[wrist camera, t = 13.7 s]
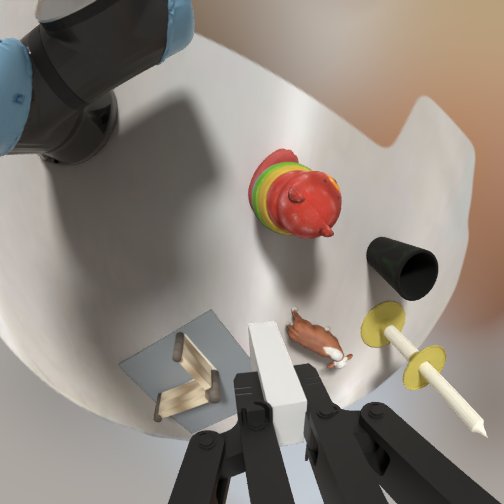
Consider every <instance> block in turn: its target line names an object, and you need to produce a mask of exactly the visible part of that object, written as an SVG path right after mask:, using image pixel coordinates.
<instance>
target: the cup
mask: <svg viewBox="0 0 504 504" xmlns="http://www.w3.org/2000/svg"><path fill="white" fill-rule="evenodd" d="M366 256H367V260H368V263H369V264H370V265H371V266H372V267H373V268H374V269H375V270H376V271H377V272H378V273H379V274H380V275H381V276H382V277H383V278H384V279H385V280H386V281H387V282H388V283H389V284H390V285H391V286H392V287H393V288H394V289H395V290H396V291H397V292H398V293H399V294H400V296H401V297H403V298H404V299H405V300H409V301H415V300H419V299H421V298H422V297H424V296H425V295H426V294H428V293H429V291H430V290H431V289H432V288H433V286H434V284H435V282H436V279H437V276H438V262H437V259H436V257H435V255H434V254H433V253H432V252H430V251H428V250H425V249H422V248H419V247H415V246H412V245H409V244H406V243H402V242H399V241H396V240H392V239H389V238H386V237H378V238H376V239H374V240H373V241H372V242H371V243H370V245H369V247H368V249H367V254H366Z"/></svg>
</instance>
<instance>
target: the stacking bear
mask: <svg viewBox="0 0 504 504" xmlns="http://www.w3.org/2000/svg"><path fill="white" fill-rule="evenodd" d="M248 196H249V202H250V205H251V207H252V209H253V210H254V212H255V214H256V216H257V217H258V219H259V220H260V221H261V223H262V224H263V225H265V226H266V227H267V228H268V229H270V230H272V231H274V232H276V233H279V234H283V235H294V236H296V237H299V238H304V239H312V238H316V237H319V236H324V237H331V236H333V235H334V233H333V231H332V230H331V228H332V227H333V225H334V224H335V223H336V221H337V219H338V217H339V214H340V211H341V203H342V202H341V193H340V189H339V187H338V184H337V182H336V180H334V179H333V178H332V177H331V176H329V175H328V174H325V173H322V172H319V171H312V170H311V169H309V168H308V167H306V166H304V165H301V164H299V163H298V158H297V156H296V155H294V154H293V152H292V151H291V150H285V149H279V150H277V151H275V152H273V153H272V154H270V155H269V156H268V157H267V158H266V159H265V160H264V161H263V162H262V163H261V164H260V165H259V167H258V168H257V170H256V171H255V173H254V175H253V177H252V179H251V182H250V185H249V191H248Z"/></svg>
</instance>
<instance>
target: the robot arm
mask: <svg viewBox="0 0 504 504" xmlns="http://www.w3.org/2000/svg"><path fill="white" fill-rule="evenodd" d="M193 14H194V13H193V8H192V3H191V0H38V3H37V7H36V10H35V18H36V19H37V20H38V22H39V23H40V24H39V25H38V26H37V27H36V28H34V29H33V30H32V31H31V32H29V33H28V34H27V35H26V36H24V37H23V38H22V39H21V40H20V41H19V40H17V39H15V38H8V39H4V40H0V157H1V156H3V155H15V154H37V155H38V156H40V157H41V158H42V159H44V160H45V161H47V162H49V163H52V164H55V165H75V164H79V163H82V162H84V161H86V160H88V159H90V158H91V157H93V156H94V155H95V154H96V153H98V152H99V151H100V150H101V148H102V147H103V146H104V145H105V144H106V142H107V141H108V139H109V137H110V135H111V133H112V131H113V128H114V125H115V122H116V116H117V102H116V97H115V94H114V91H113V89H115V88H116V87H118V86H119V85H121V84H123V83H124V82H126V81H128V80H129V79H131V78H133V77H135V76H136V75H138V74H140V73H142V72H144V71H145V70H147V69H149V68H151V67H153V66H155V65H159V64H161V63H162V62H164V61H165V59H166V58H168V57H170V56H172V55H173V54H175V53H177V52H179V51H181V50H183V49H184V48H185V47H186V46H187V45H188V44H189V43H190V42H191V40H192V38H193V35H194V28H195V24H194V15H193ZM248 329H249V344H250V359H251V367H252V371H253V372H246V373H237V374H236V376H235V378H234V380H233V383H234V392H235V400H236V408H237V415H238V421H237V424H236V425H235V426H234V427H233V428H232V429H231V430H229V431H226V432H224V433H221V434H219V433H217V432H215V431H211V430H206V431H201V432H198V433H196V434H195V435H193V436H192V438H191V439H190V442H189V445H188V448H187V450H186V453H185V456H184V459H183V462H182V465H181V467H180V470H179V473H178V476H177V479H176V482H175V485H174V488H173V491H172V493H171V496H170V499H169V502H168V504H225V503H226V498H227V493H228V488H229V484H230V479H231V477H232V476H235V475H237V474H240V473H243V472H245V471H246V477H247V484H248V490H249V496H250V502H251V504H295V502H294V499H293V495H292V492H291V488H290V484H289V481H288V477H287V474H286V470H285V467H284V462H283V459H282V455H281V451H280V448H279V447H280V446H286V445H292V444H298V443H303V442H304V441H303V440H304V437H305V439H306V442H307V445H306V455H305V461H307V460H308V458H309V460H310V463H311V466H312V470H313V472H314V475H315V478H316V481H317V484H318V487H319V490H320V493H321V495H322V499H323V502H324V504H388V502H387V500H386V498H385V496H384V494H383V492H382V490H381V488H380V486H381V487H382V488H383V489H384V490H385V491H386V492H387V493H388V494H389V495H390V497H391V498H392V499H393V500H394V501H395V502H396V503H397V504H501V503H500V502H499V501H497V500H496V499H495V498H494V497H493V496H491V495H490V494H489V493H488V492H486V491H485V490H484V489H483V488H482V487H481V486H479V485H478V484H477V483H476V482H474V481H473V480H472V479H471V478H470V477H469V476H467V475H466V474H465V473H464V472H463V471H461V470H460V469H459V468H458V467H457V466H456V465H455V464H453V463H452V462H451V461H450V460H449V459H448V458H446V457H445V456H444V455H443V454H442V453H441V452H439V451H438V450H437V449H436V448H435V447H434V446H433V445H431V444H430V443H429V442H428V441H427V440H426V439H424V438H423V437H422V436H421V435H420V434H419V433H418V432H417V431H415V430H414V429H413V428H412V427H411V426H410V425H408V424H407V423H406V422H405V421H404V420H403V419H402V418H401V417H399V416H398V415H397V414H396V413H395V412H394V411H393V410H392V409H391V408H389V407H388V406H387V405H385V404H384V403H380V402H371V403H368V404H366V405H365V406H363V408H362V409H361V411H349V410H343V409H341V408H340V407H339V406H338V405H336V404H334V403H333V402H332V401H331V399H330V397H329V395H328V393H327V391H326V389H325V387H324V385H323V383H322V380H321V378H320V377H319V374H318V372H317V370H316V369H315V368H314V367H313V366H312V365H310V364H309V363H307V364H301V365H295V366H293V364H292V362H291V359H290V357H289V354H288V352H287V349H286V347H285V344H284V342H283V339H282V337H281V334H280V332H279V329H278V327H277V324H276V322H275V321H269V322H260V323H250V324H248ZM378 483H379V484H378ZM379 485H380V486H379Z"/></svg>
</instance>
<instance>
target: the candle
mask: <svg viewBox="0 0 504 504" xmlns="http://www.w3.org/2000/svg"><path fill="white" fill-rule="evenodd" d="M404 323H405V313H404V310H403V308H402V307H401V306H400V305H399V304H398V303H396V302H390V301H388V302H384V303H381V304H379V305H377V306H376V307H375V308H373V309H372V310H371V311H370V312H369V313H368V314H367V316H366V317H365V318H364V321H363V324H362V326H361V337H362V339H363V341H364V343H365V344H367V345H369V346H370V347H382V346H384V345H387V344H389V343H390V342H391V343H392V344H393V345H394V346H395V347H396V349H397V350H398V351H399V352H400V353H401V354H402V355H403V356H404V357H405V358H406V360H407V361H408V362H409V363H408V365H407V367H406V369H405V371H404V375H403V383H404V385H405V387H406V388H408V389H410V390H417V389H420V388H423V387H425V386H427V385H428V384H429V383H430V384H431V385H432V387H433V388H434V389H435V390H436V391H437V392H438V393H439V394H440V396H441V397H442V398H443V399H444V400H445V401H446V402H447V404H448V405H449V406H450V407H451V408H452V409H453V411H455V413H456V414H457V415H458V416H459V418H460V419H461V420H462V421H463V422H464V423H465V425H466V426H467V427H468V428H469V429H470V430H471V432H478V433H480V434H482V435H483V436H486V432H485V429H484V426H483V423H484V420H483V419H482V418H481V417H480V416H479V415H478V414H477V413H476V412H475V410H474V409H473V408H472V407H471V406H470V405H469V404H468V403H467V402H466V401H465V400H464V399H463V398H462V397H461V395H460V394H459V393H458V392H457V391H456V390H455V389H454V388H453V387H452V386H451V385H450V384H449V383H448V382H447V381H446V380H445V379H444V378H443V377H442V376H441V375H440V372H441V370H442V368H443V366H444V364H445V360H446V353H445V350H444V349H443V348H442V347H441V346H435V345H434V346H429V347H427V348H425V349H423V350H422V351H419V350H418V349H417V348H416V347H415V346H414V345H413V344H412V343H411V342H410V341H409V340H408V339H407V338H406V337H405V336H404V335H403V334H402V333H401V331H402V328H403V326H404ZM486 437H487V436H486ZM487 438H488V437H487Z"/></svg>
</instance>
